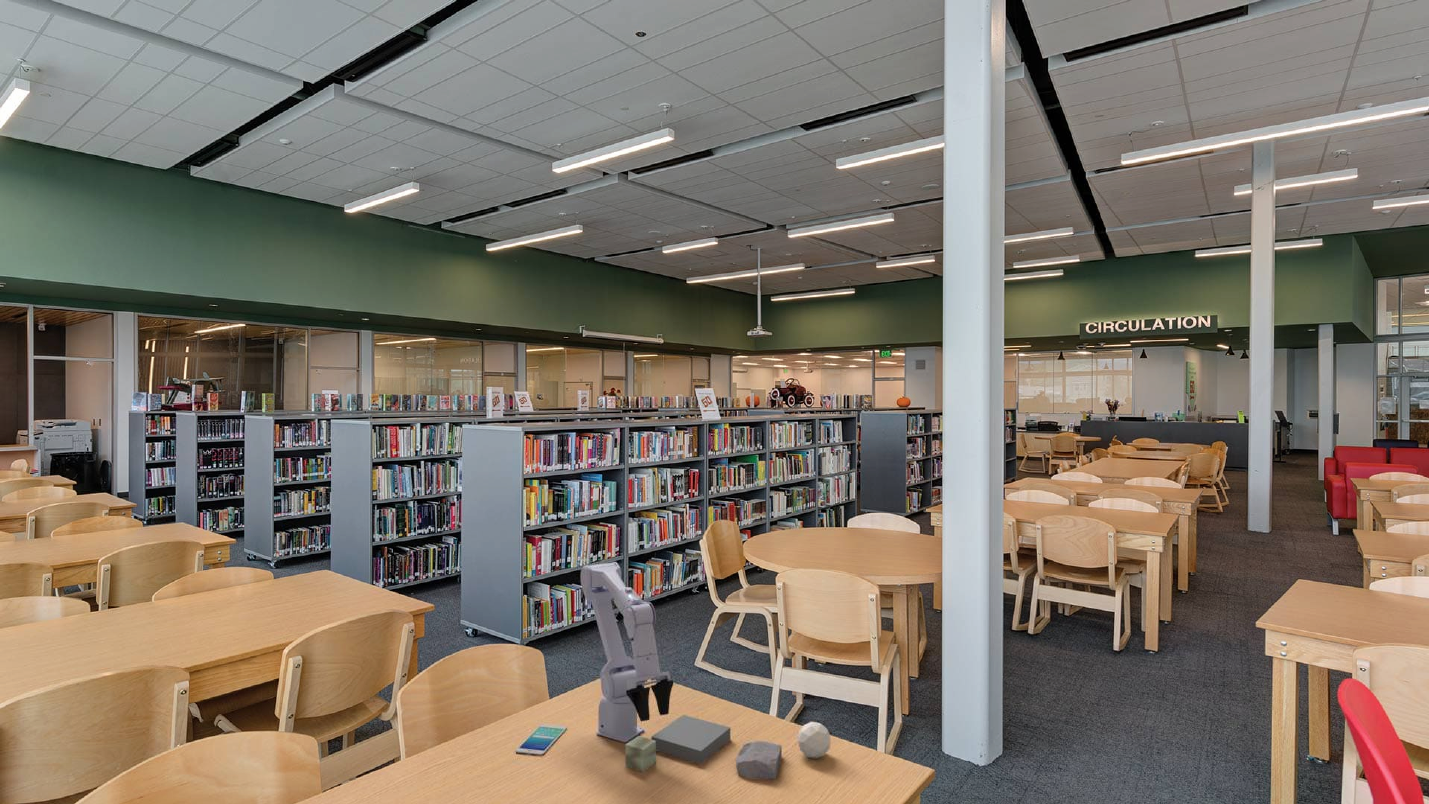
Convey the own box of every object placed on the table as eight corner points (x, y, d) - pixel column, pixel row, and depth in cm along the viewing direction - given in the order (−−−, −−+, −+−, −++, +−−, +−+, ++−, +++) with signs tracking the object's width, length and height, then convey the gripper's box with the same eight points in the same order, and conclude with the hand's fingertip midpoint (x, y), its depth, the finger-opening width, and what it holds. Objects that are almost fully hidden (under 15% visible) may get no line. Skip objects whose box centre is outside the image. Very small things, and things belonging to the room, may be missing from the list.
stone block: (735, 785, 158) (779, 781, 156) (731, 763, 158) (775, 759, 156) (744, 761, 169) (785, 757, 167) (740, 741, 170) (781, 736, 168)
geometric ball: (805, 768, 167) (785, 738, 168) (825, 745, 172) (805, 717, 173) (823, 764, 161) (802, 733, 163) (843, 741, 166) (822, 711, 168)
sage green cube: (625, 766, 162) (625, 744, 162) (638, 757, 167) (638, 735, 167) (643, 772, 160) (643, 749, 160) (655, 762, 164) (656, 740, 164)
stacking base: (651, 749, 170) (651, 736, 170) (683, 726, 182) (683, 714, 182) (700, 764, 163) (700, 751, 163) (730, 739, 175) (730, 727, 175)
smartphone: (568, 726, 181) (543, 754, 167) (568, 729, 181) (543, 757, 167) (541, 723, 183) (513, 751, 168) (541, 727, 183) (513, 754, 168)
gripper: (640, 656, 159) (650, 721, 155) (676, 650, 172) (686, 709, 167) (616, 661, 163) (625, 725, 158) (653, 655, 175) (662, 713, 170)
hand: (654, 717), depth 163 cm, fingers open, 7 cm apart
